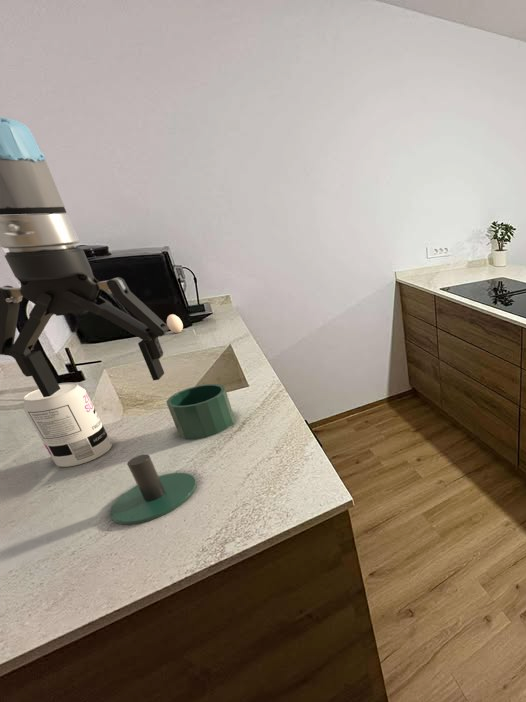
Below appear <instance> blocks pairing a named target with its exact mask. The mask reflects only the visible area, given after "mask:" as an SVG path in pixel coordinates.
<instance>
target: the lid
mask: <svg viewBox="0 0 526 702" xmlns="http://www.w3.org/2000/svg"><path fill="white" fill-rule="evenodd" d="M126 464H127V466H128V469H129V471H130V473H131V475H132V477H133V479H134V481H135V483H136V485H135V486H133V487H132V488H131V489H129V490H127V491H126V492H124V493H123V494H122V495H121V496H120V497H119V498H117V500H116V501H115V502H114V503H113V505H112V506H111V508H110V513H109V514H110V517H111V519H112V521H114V522H115V523H117V524H120V525H138V524H141V523H146V522H149V521H153V520H155V519H158V518H160V517H162V516H164V515H166V514H168V513H170V512H173V511H174V510H175V509H177V508H179V507H180V506H181V505H182V504H184V503H185V502H186V501H188V500H189V498H191V497H192V495H193V494H194V492H195V490H196V488H197V480H196V478H195V477H194V476H193V475H192V474H189V473H185V472H172V473H167V474H163V475H158V472H157V470H156V468H155V465H154V462H153V461H152V458H151V456H150V455H149V454H140V455H137V456H134V457H133V458H130V459H129V461H127V462H126Z"/></svg>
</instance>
